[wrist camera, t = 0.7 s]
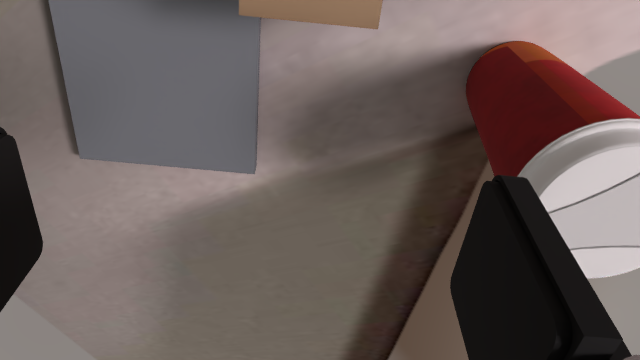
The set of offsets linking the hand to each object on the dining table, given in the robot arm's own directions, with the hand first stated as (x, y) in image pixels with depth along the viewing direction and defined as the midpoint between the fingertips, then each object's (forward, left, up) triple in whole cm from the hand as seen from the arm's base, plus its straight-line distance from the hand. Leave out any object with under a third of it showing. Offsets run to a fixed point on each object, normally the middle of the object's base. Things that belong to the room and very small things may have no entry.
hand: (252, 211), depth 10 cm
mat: (+6, -8, -22) cm, 24 cm away
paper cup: (+5, +14, -22) cm, 26 cm away
